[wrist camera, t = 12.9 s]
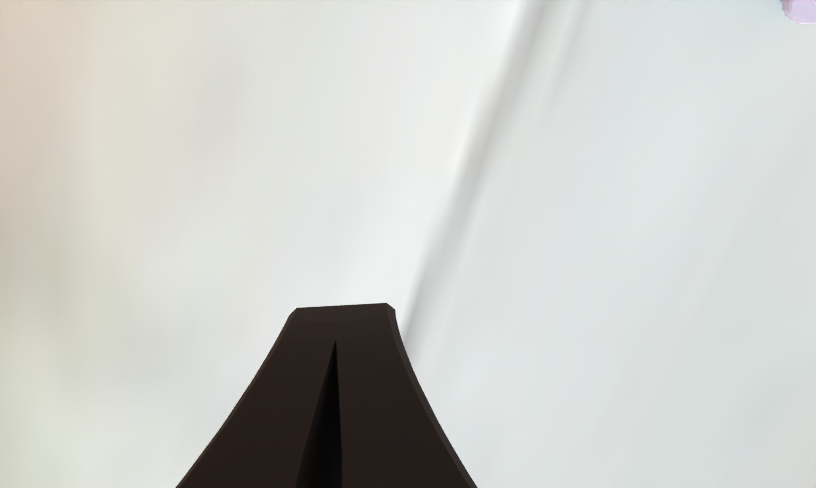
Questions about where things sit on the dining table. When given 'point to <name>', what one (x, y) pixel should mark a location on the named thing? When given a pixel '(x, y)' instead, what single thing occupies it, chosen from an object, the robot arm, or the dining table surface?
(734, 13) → the dining table surface
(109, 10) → the dining table surface
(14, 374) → the dining table surface
